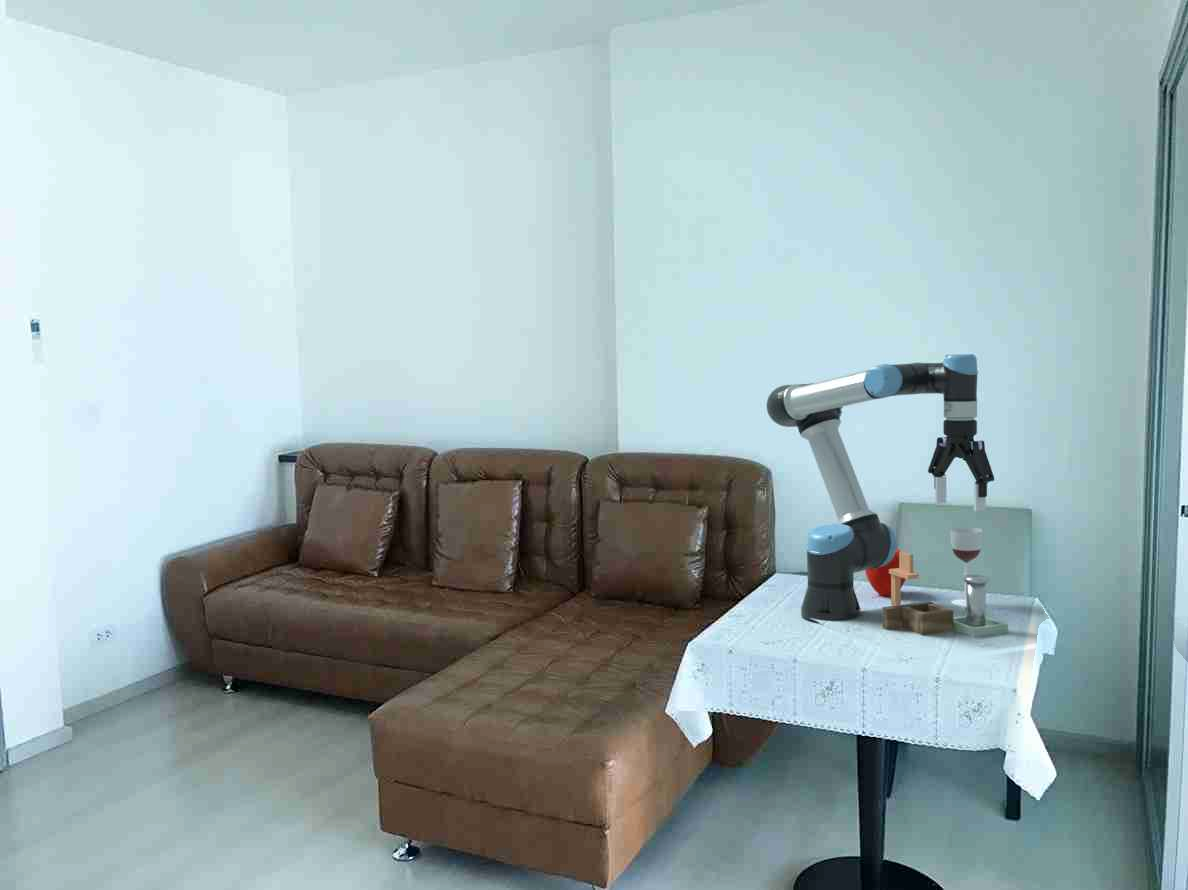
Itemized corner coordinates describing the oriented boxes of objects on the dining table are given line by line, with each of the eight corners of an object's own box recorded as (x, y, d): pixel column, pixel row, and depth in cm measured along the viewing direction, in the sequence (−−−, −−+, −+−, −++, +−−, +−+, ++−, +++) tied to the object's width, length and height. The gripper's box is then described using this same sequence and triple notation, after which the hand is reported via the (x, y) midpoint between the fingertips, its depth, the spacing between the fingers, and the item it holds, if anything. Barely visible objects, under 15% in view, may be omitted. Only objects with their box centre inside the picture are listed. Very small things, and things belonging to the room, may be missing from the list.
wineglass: (945, 603, 264) (945, 530, 262) (958, 597, 270) (958, 526, 268) (974, 608, 258) (974, 533, 256) (987, 601, 265) (987, 529, 263)
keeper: (888, 605, 239) (888, 551, 238) (899, 603, 240) (898, 550, 239) (908, 612, 232) (908, 557, 231) (918, 611, 233) (918, 555, 232)
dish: (945, 630, 239) (945, 618, 239) (978, 625, 242) (978, 614, 242) (973, 641, 229) (973, 629, 229) (1007, 636, 233) (1007, 624, 232)
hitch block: (882, 632, 239) (882, 607, 239) (928, 625, 244) (928, 601, 243) (906, 641, 231) (906, 616, 230) (953, 634, 235) (953, 609, 235)
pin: (958, 628, 237) (958, 576, 236) (977, 626, 239) (977, 573, 238) (974, 634, 232) (975, 580, 231) (993, 631, 234) (994, 578, 233)
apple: (889, 587, 283) (889, 542, 282) (917, 596, 273) (918, 549, 272) (856, 592, 279) (856, 546, 278) (884, 601, 268) (884, 553, 267)
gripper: (913, 417, 244) (913, 501, 245) (984, 422, 220) (983, 515, 222) (938, 415, 246) (937, 499, 248) (1011, 420, 223) (1010, 512, 224)
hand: (959, 507), depth 235 cm, fingers open, 13 cm apart
